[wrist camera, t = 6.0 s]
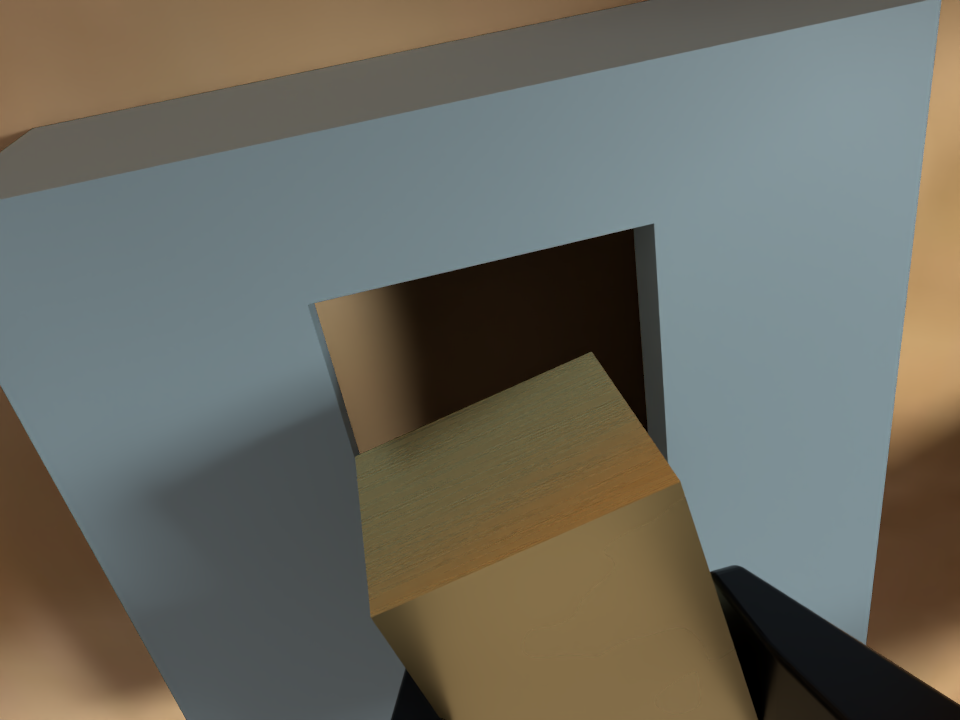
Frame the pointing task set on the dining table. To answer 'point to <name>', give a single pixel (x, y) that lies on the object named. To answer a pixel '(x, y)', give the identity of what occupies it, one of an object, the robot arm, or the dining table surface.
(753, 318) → the blue-grey hollow frame
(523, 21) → the dining table surface
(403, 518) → the tan wooden post
